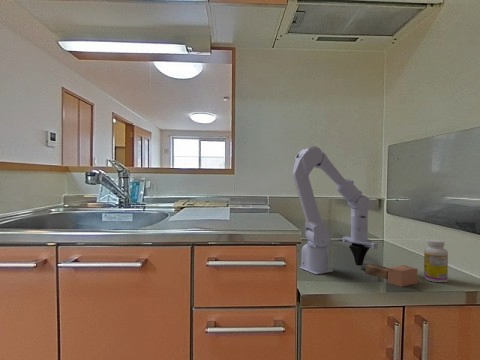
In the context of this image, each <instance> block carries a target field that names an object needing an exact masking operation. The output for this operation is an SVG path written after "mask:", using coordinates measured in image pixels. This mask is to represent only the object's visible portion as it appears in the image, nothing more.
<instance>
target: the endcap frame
mask: <svg viewBox="0 0 480 360" xmlns="http://www.w3.org/2000/svg"><path fill="white" fill-rule="evenodd" d="M366 265H370V264H369V263H366V262H363V265H361V266H362V268H363V269H364V268H365V266H366ZM387 268H388V279H387V283H388V284H391V285H395V286H397V287H401V288H402V287H406V286H411V285H415V284H418V268H415V267H412V266H408V265H399V266H398V265H397V266H392V267H387Z"/></svg>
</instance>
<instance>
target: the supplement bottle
mask: <svg viewBox="0 0 480 360" xmlns="http://www.w3.org/2000/svg"><path fill="white" fill-rule="evenodd" d="M427 245H428V246H427V247H426V248H424V250H423V255H424V256H423V260H424V261H423V268H424V269H423V274H424V275H423V278H424V279H425V280H427V281H428V280H429V281H428V282H431V281H432V283H437V282H439V283H440V282H441V284H442V282H444V283H446V282H448V280H449V264H448V263H449V252H448V250H447V249H446V248H445V241H444V240H442V239H441V240H440V239H431V238H430V239H427ZM439 283H438V284H439Z"/></svg>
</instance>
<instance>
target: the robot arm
mask: <svg viewBox="0 0 480 360" xmlns="http://www.w3.org/2000/svg"><path fill="white" fill-rule="evenodd" d="M294 159H295V161H294V165H293V169H292V178H293V180H294V185H295V187H296V191H297V195H298V198H299V201H300V205H301V209H302V211H303V215H304V219H305V223H304V227H305V233H304V235H305V236H304V237H305V239H306V240H307V243H305V244H304V245H303V246H302V247H301V252H300V253H301V257H300V258H301V263H300V264H301V266H299V269H301V270H304V271H307V272H308V273H311V274H314V275H322V274H326V273H333V272H334V270H333V269H331V268H329V258H328V257H329V244H330V243H331V239H332V235H331V233H330V232H329V230H328V229H327V228H326V225H325V223H324V221H323V220H322V218H321V216H320V212H319V208H318V206H317V201H316V198H315V195H314V191H313V188H312V184H311V181H310V177H309V175H310V174H311V172H312V171H313V169H314V168H316V169H320V170H322V171H323V172H324V173H325V174H326V176H327V177H329V179H331V180H332V182H334V183H335V184H336V185H335V186H336V188H335V189H336V191H337V192H338V193H340V195H341V196H342V197H343V198H344V199H345V201H346V202H347V206H348V207H349V208H350V236H346V235H345V236H342V243H349V244H350V245H348V247H349V249H350V251H351V253H352V255H353V258H354V262H355V265H356V266H360V267H361V266H362V265H363V263H364V260H365V257H366V255H367V253H368V251H369V250H370V249H372V250H377V249H378V242H375V241H371V240H370V239H369V237H368V235H369V233H368V232H369V231H368V229H369V227H368V226H369V225H368V223H369V221H368V220H369V216H368V215H369V210H370V208H371V206H372V203H371V201H370V198H369V197H368V196H367V195H363V192H362V190H360V189H359V188H357V186H356V185H355V182H354V180H352V179H350V178H344V176H342V174H341V172H339V170H338V169H337V167H335V165H334V164H333V163H332V162H331V160H330V159H329V157H328V155H327V154H326V153H325V152H323V150H322V149H321V148H320V147H318V146H315V145H314V146H313V145H312V146H310V147H307V148H305V147H304V148H302V149H300V150H299V151H298V153H297V154H296V155H295V157H294Z"/></svg>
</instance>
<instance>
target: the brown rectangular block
mask: <svg viewBox="0 0 480 360" xmlns="http://www.w3.org/2000/svg"><path fill="white" fill-rule="evenodd" d="M388 268H389V267H386V266H382V265H379V264H374V263H371V264H370V265H366V266H365V271H364V272H365V274H366V275H368V276H369V275H370V276H373V277H375V278H376V277H377V278H381V279H384V280H388Z"/></svg>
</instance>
